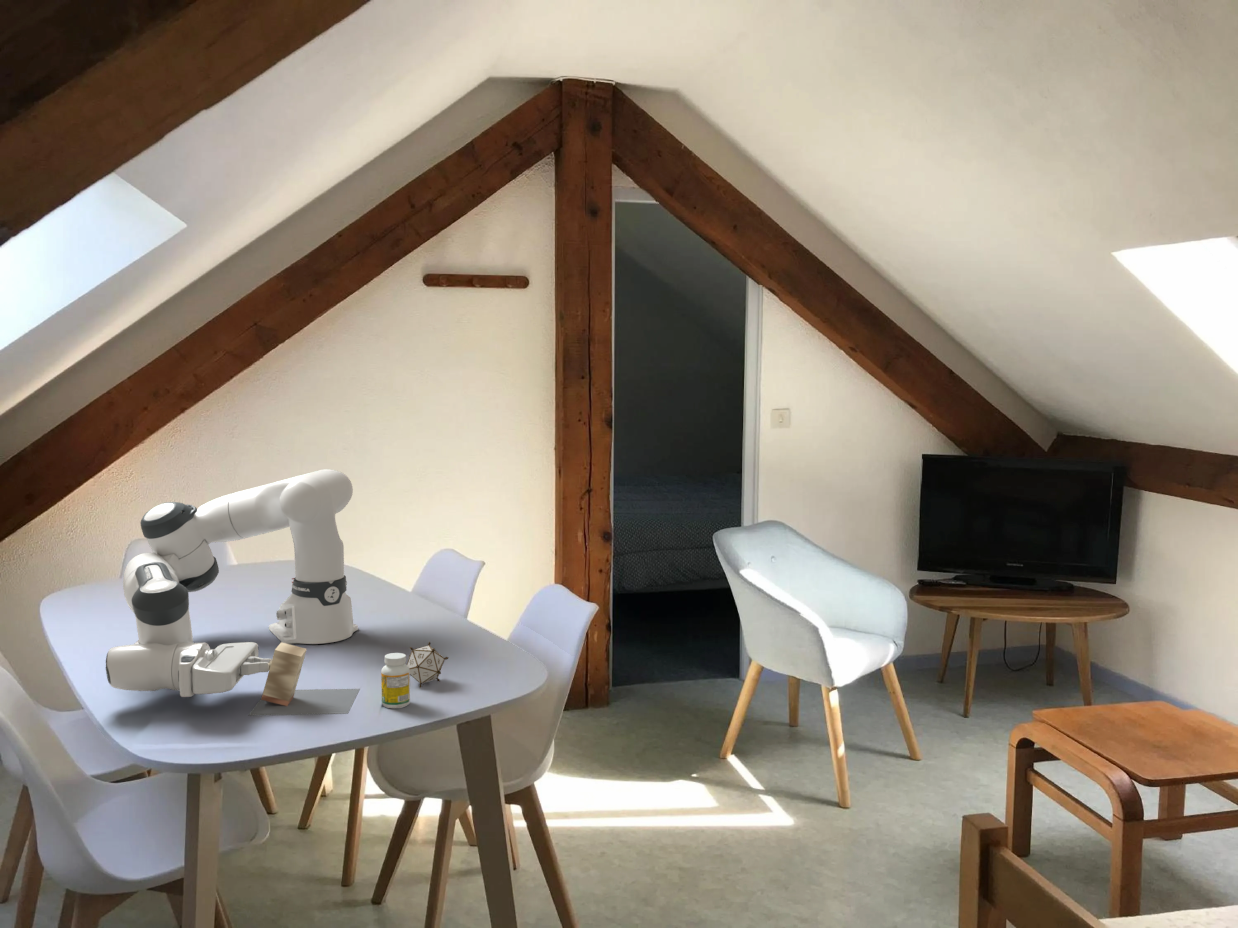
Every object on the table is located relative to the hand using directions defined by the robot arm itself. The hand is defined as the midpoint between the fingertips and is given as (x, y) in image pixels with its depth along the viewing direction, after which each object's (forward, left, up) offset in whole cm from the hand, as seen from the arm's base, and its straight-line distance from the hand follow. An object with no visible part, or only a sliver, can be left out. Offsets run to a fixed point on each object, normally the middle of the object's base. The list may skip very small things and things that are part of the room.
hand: (270, 665), depth 198 cm
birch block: (0, +1, -7) cm, 7 cm away
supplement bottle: (+15, +18, -8) cm, 25 cm away
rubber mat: (+4, +5, -8) cm, 10 cm away
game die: (+8, +29, -8) cm, 31 cm away
